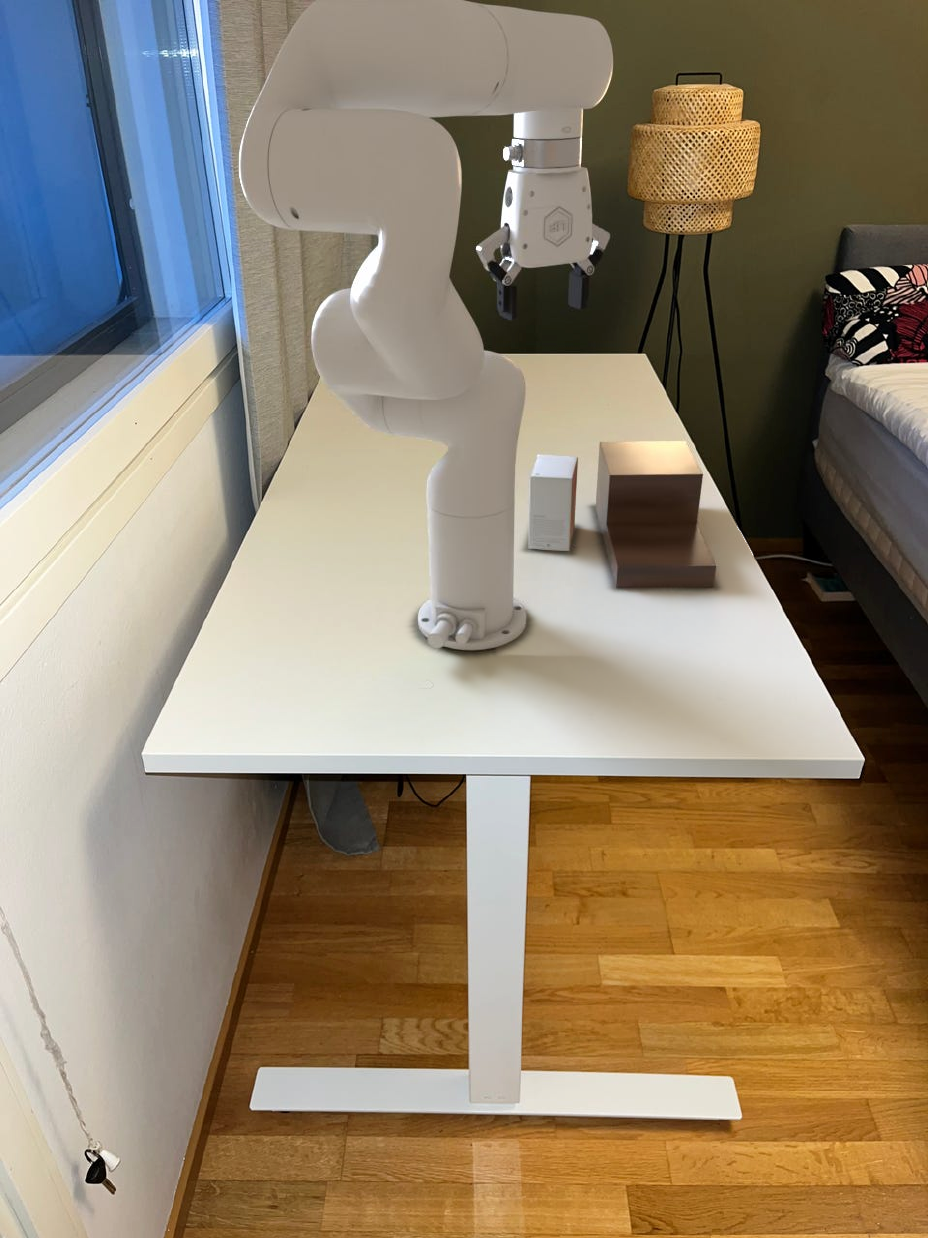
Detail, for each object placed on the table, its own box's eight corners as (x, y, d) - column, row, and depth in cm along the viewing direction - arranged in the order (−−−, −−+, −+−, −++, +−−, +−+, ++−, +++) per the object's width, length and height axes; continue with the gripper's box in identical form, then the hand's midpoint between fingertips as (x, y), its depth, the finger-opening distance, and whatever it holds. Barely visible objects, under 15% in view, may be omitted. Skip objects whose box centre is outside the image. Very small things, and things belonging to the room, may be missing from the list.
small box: (569, 553, 125) (572, 478, 120) (527, 549, 126) (529, 475, 121) (575, 527, 132) (579, 455, 127) (535, 524, 133) (537, 453, 128)
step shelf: (713, 587, 117) (723, 513, 112) (616, 588, 117) (621, 514, 112) (678, 506, 137) (685, 440, 132) (595, 507, 138) (599, 441, 132)
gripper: (493, 163, 99) (494, 329, 108) (631, 153, 106) (620, 310, 115) (462, 157, 105) (464, 315, 114) (594, 148, 111) (587, 298, 120)
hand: (543, 312), depth 114 cm, fingers open, 9 cm apart
